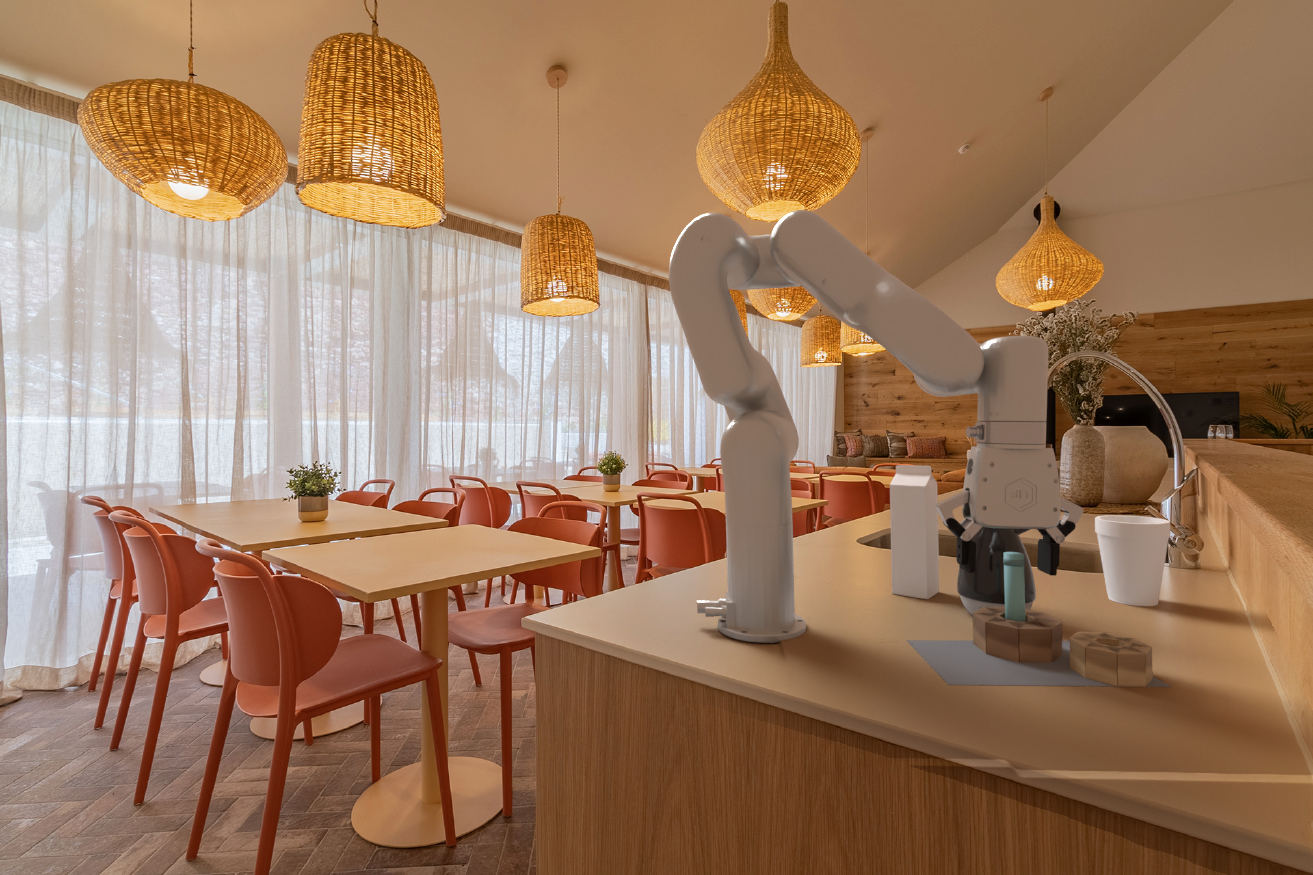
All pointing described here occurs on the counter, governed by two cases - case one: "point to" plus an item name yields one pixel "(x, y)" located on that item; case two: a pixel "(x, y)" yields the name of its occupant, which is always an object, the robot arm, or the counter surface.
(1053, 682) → the mat
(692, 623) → the counter surface
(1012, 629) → the bead
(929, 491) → the milk
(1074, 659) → the oak bead
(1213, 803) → the counter surface
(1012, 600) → the teal rounded rod
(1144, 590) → the foam cup
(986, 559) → the pump dispenser
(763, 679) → the counter surface
